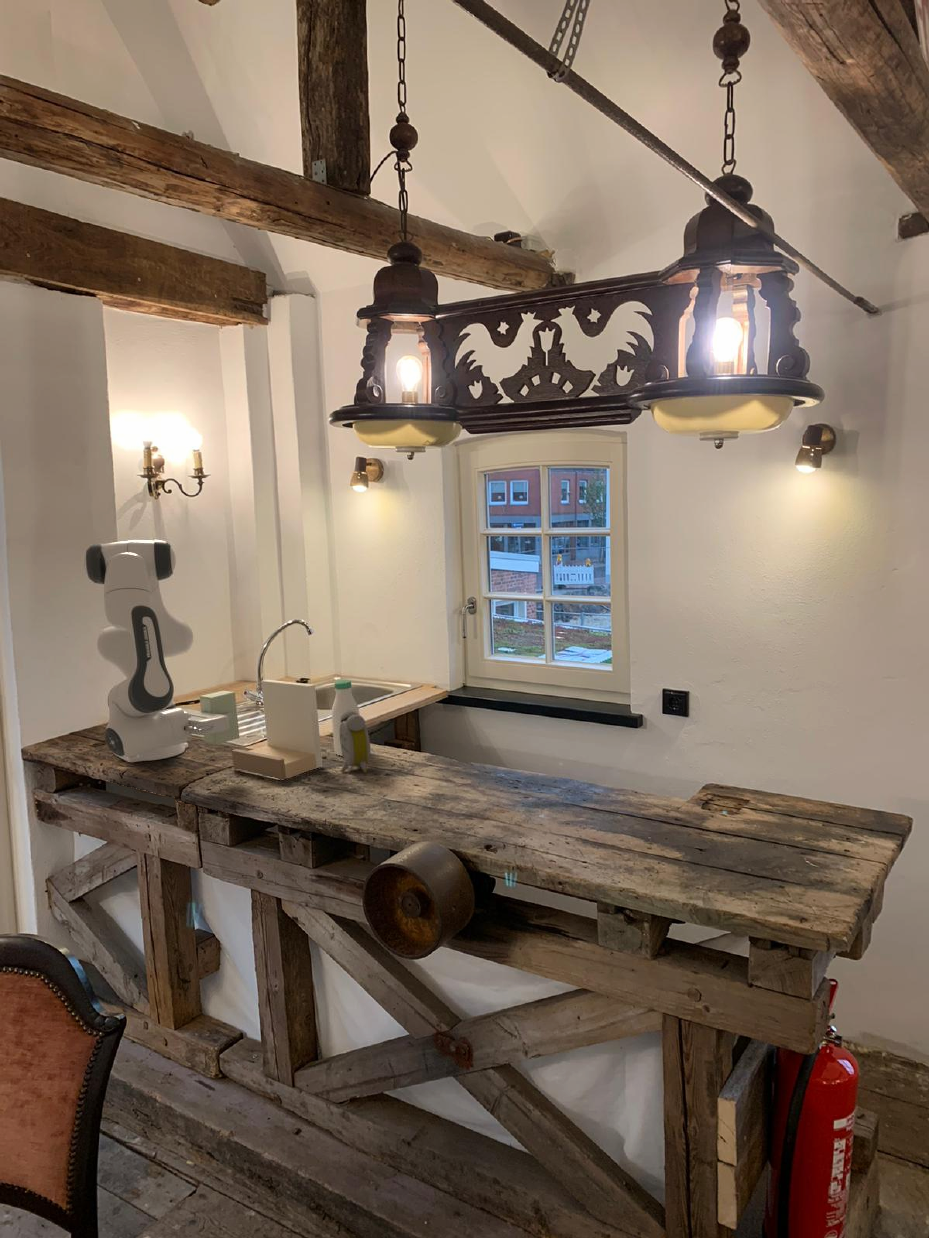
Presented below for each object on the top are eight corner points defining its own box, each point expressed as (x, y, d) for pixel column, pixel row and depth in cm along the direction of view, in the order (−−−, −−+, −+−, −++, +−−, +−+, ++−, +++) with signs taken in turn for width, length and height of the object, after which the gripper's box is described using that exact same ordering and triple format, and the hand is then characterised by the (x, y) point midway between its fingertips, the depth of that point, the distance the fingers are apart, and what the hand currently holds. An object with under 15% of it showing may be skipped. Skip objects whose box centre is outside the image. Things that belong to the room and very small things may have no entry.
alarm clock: (373, 773, 218) (368, 715, 216) (346, 778, 216) (341, 719, 214) (361, 762, 229) (356, 707, 227) (335, 767, 226) (330, 710, 225)
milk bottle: (360, 755, 236) (354, 683, 233) (332, 757, 236) (326, 685, 233) (364, 748, 243) (358, 678, 241) (337, 749, 243) (331, 680, 241)
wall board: (233, 770, 230) (225, 689, 227) (274, 757, 240) (267, 679, 237) (281, 781, 217) (272, 695, 214) (322, 767, 227) (314, 684, 224)
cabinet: (200, 743, 219) (196, 696, 218) (228, 735, 225) (223, 690, 224) (212, 745, 216) (207, 698, 215) (239, 737, 222) (234, 692, 221)
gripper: (196, 718, 203) (245, 705, 214) (150, 710, 217) (198, 698, 227) (199, 744, 204) (248, 730, 215) (153, 734, 217) (201, 722, 228)
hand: (222, 714), depth 221 cm, fingers closed on cabinet, 5 cm apart
